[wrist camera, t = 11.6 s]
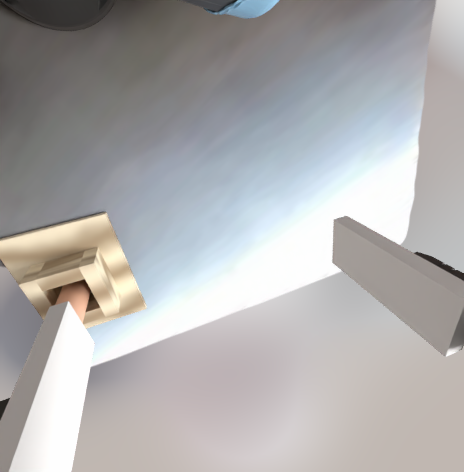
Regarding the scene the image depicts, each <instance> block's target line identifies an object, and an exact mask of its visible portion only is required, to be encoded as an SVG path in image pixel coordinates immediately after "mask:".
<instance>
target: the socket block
mask: <svg viewBox="0 0 464 472" xmlns="http://www.w3.org/2000/svg"><path fill="white" fill-rule="evenodd" d="M0 259H1V260H2V262H3V263H4V265H5V266H6V267H7V269H8V270H9V272H10V273H11V275H12V276H13V277H14V279H15V280H16V282H17V283H18V284H19V286H20V287H21V289H22V291H23V292H24V293H25V295H26V296H27V298H28V299H29V300H30V302H31V303H32V305H33V306H34V307H35V309H36V310H37V311H38V313H39V314H40V316H41V317H42V318H43V320H44V319H45V316H46V314H47V312H48V309H49V307H51V306H54V305H55V304H56V302H57V299H58V297H59V294H60V292H61V289H62V287H63V285H66V284H70V283H73V282H76V281H80V280H83V279H85V280H86V282H87V284H88V286H89V287H90V289H91V292H90V296H89V300H88V304H87V308H86V312H85V316H84V320H83V325H84V327H85V328H89V327H92V326H95V325H98V324H101V323H104V322H107V321H111V320H114V319H117V318H120V317H123V316H126V315H129V314H132V313H135V312H138V311H141V310H144V309H146V303H145V301H144V299H143V297H142V294H141V292H140V290H139V287H138V285H137V283H136V280H135V278H134V276H133V273H132V271H131V269H130V266H129V264H128V262H127V259H126V257H125V255H124V252H123V250H122V248H121V245H120V243H119V241H118V238H117V236H116V234H115V231H114V229H113V227H112V224H111V222H110V220H109V217H108V215H107V213H106V212H103V213H100V214H96V215H92V216H88V217H84V218H80V219H76V220H72V221H68V222H64V223H60V224H56V225H52V226H49V227H45V228H41V229H37V230H33V231H29V232H25V233H21V234H17V235H13V236H9V237H5V238H2V239H0Z"/></svg>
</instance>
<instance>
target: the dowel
mask: <svg viewBox="0 0 464 472" xmlns="http://www.w3.org/2000/svg"><path fill="white" fill-rule="evenodd" d="M90 292H91V289H90V287H89V286H88V284H87V282H86V280H85V279H83V280H80V281H76V282H73V283H70V284H66V285H63V287H62V289H61V292H60V294H59V297H58V299H57V302H56V304H55V305H57V304H60V303H64V302H67V301H69V302H70V304H71V306H72V307H73V309H74V311H75V312H76V314H77V315H78V317H79V319H80V320H81V322H82V324H83V320H84V316H85V312H86V308H87V304H88V300H89V296H90Z"/></svg>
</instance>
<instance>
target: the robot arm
mask: <svg viewBox="0 0 464 472" xmlns="http://www.w3.org/2000/svg"><path fill="white" fill-rule="evenodd" d="M0 1H2V2H3V3H4V4H6V5H7V6H8V7H10V8H11V9H12V10H14V11H15V12H17V13H18V14H19V15H21V16H23V17H24V18H26V19H28V20H30V21H32V22H34V23H36V24H38V25H41V26H44V27H47V28H50V29H54V30H61V31H76V30H81V29H85V28H88V27H90V26H92V25H94V24H96V23H97V22H99V21H100V20H101V19H103V18H104V17H105V16H106V14H107V13H108V12H109V11H110V9H111V8H112V6H113V4H114V2H115V0H0ZM179 1H183V2H186V3H189V4H193V5H196V6H199V7H203V8H204V9H205V10H206V11H207V12H209V13H212V14H220V15H221V14H228V15H232V16H236V17H241V18H246V19H249V18H254V17H258V16H261V15H263V14H264V13H266V12H267V11H269V10H270V9H271V8H272V7H273V6H274V5H275V4H276V3H277V2H278V1H279V0H179ZM332 262H333V263H334V264H335V265H336V266H337V267H338V268H340V269H341V270H342V271H343V272H345V273H346V274H347V275H348V276H349V277H350V278H352V279H353V280H354V281H355V282H356V283H358V284H359V285H360V286H361V287H362V288H364V289H365V290H366V291H367V292H368V293H370V294H371V295H372V296H373V297H375V298H376V299H377V300H378V301H379V302H380V303H382V304H383V305H384V306H385V307H386V308H388V309H389V310H390V311H391V312H392V313H394V314H395V315H396V316H397V317H398V318H399V319H401V320H402V321H403V322H404V323H405V324H407V325H408V326H409V327H410V328H411V329H413V330H414V331H415V332H416V333H417V334H419V335H420V336H421V337H422V338H424V339H425V340H426V341H427V342H428V343H429V344H431V345H432V346H433V347H434V348H435V349H436V350H438V351H439V352H440V353H441V354H443V355H444V356H445V357H446V356H448V355H451V354H453V353H455V352H457V351H459V350H462V348H463V346H464V273H462V272H460V271H458V270H455V269H454V268H452V267H451V266H448V265H445V264H444V263H443V262H441V261H439V260H437V259H436V258H434V257H432V256H429V255H425V254H422V253H418V252H416V253H413V252H411V251H409V250H407V249H405V248H404V247H401V246H400V245H398V244H396V243H395V242H393V241H391V240H389V239H387V238H386V237H384V236H382V235H380V234H378V233H377V232H375V231H373V230H371V229H369V228H368V227H366V226H364V225H362V224H360V223H359V222H357V221H355V220H353V219H351V218H350V217H348V216H344V217H341V218H338V219H334V229H333V260H332ZM94 344H95V343H94V342H93V340H92V338H91V337H90V335H89V333H88V332H87V330H86V328H85V327H84V325H83V324H82V322H81V320H80V319H79V317H78V315H77V314H76V312H75V311H74V309H73V307H72V306H71V304H70V302H69V301H67V302H64V303H60V304H57V305H54V306H51V307H49V309H48V312H47V314H46V316H45V319H44V321H43V323H42V326H41V328H40V330H39V333H38V335H37V337H36V339H35V342H34V344H33V346H32V349H31V351H30V353H29V356H28V358H27V360H26V362H25V365H24V367H23V369H22V372H21V374H20V376H19V379H18V381H17V383H16V386H15V388H14V390H13V392H12V395H11V397H10V398H8V399H6V400H3V401H0V472H71V470H72V465H73V459H74V454H75V448H76V443H77V437H78V432H79V426H80V421H81V415H82V410H83V404H84V399H85V393H86V388H87V382H88V377H89V372H90V366H91V361H92V355H93V350H94Z"/></svg>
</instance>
